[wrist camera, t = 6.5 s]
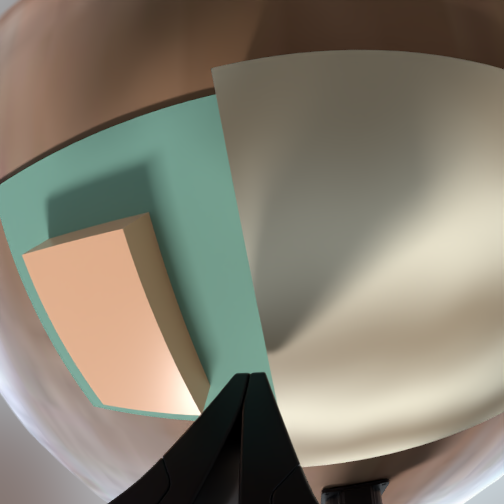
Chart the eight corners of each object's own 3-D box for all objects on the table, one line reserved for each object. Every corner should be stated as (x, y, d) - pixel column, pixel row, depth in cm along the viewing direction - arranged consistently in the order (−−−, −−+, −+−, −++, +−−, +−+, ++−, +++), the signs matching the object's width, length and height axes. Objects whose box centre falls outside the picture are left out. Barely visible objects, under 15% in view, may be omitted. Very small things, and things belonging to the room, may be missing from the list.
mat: (291, 416, 14) (291, 420, 14) (95, 403, 17) (93, 406, 16) (235, 91, 9) (233, 90, 8) (-3, 187, 11) (-7, 188, 11)
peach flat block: (103, 404, 13) (117, 380, 14) (201, 415, 12) (210, 385, 13) (21, 255, 9) (48, 238, 11) (122, 228, 8) (148, 212, 10)
